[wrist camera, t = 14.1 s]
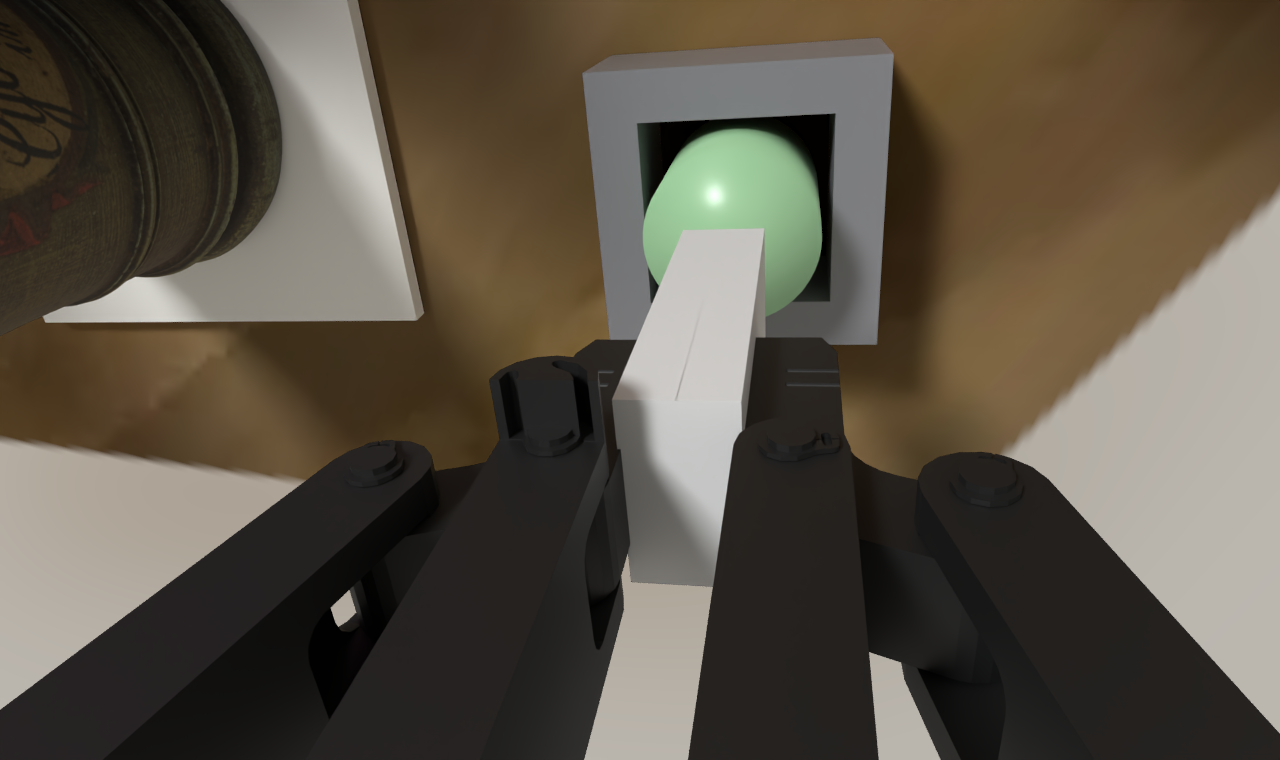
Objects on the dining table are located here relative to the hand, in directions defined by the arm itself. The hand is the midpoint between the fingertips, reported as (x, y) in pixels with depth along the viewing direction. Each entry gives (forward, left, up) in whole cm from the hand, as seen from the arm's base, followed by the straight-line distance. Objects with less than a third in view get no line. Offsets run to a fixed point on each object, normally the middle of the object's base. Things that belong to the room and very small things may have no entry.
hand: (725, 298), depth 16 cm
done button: (0, 0, -9) cm, 9 cm away
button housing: (0, 0, -9) cm, 9 cm away
